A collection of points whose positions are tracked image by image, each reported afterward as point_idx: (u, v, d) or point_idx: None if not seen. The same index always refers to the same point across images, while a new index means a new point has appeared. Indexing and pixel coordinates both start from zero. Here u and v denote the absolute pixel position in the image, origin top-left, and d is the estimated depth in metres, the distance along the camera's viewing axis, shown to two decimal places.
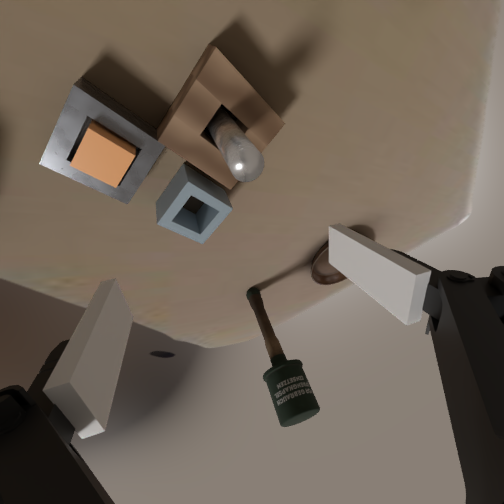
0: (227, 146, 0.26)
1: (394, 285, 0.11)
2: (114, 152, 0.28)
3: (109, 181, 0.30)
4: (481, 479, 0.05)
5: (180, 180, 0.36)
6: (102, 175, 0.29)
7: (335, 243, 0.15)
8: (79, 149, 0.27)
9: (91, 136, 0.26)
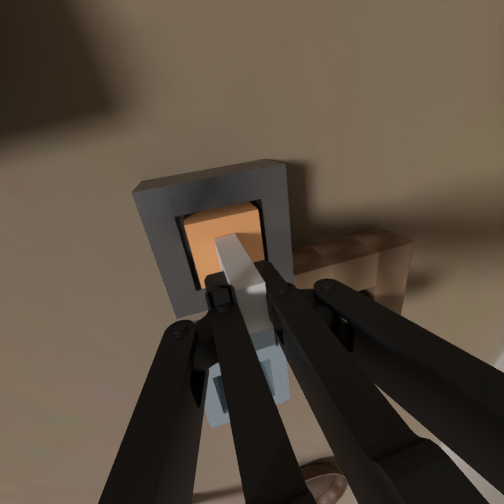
0: None
1: None
2: (251, 252, 0.18)
3: (204, 276, 0.18)
4: (369, 499, 0.05)
5: None
6: (206, 264, 0.17)
7: None
8: (220, 220, 0.16)
9: (250, 219, 0.17)
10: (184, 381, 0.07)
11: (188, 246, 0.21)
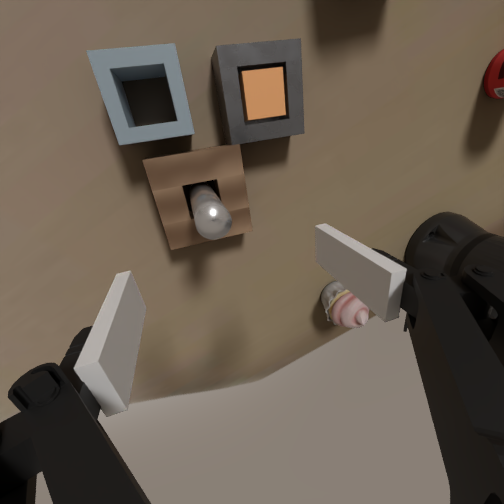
0: None
1: (373, 283, 0.12)
2: (262, 109, 0.30)
3: (250, 74, 0.28)
4: (463, 476, 0.06)
5: None
6: (258, 77, 0.29)
7: (321, 242, 0.16)
8: (283, 90, 0.30)
9: (281, 109, 0.31)
10: None
11: None
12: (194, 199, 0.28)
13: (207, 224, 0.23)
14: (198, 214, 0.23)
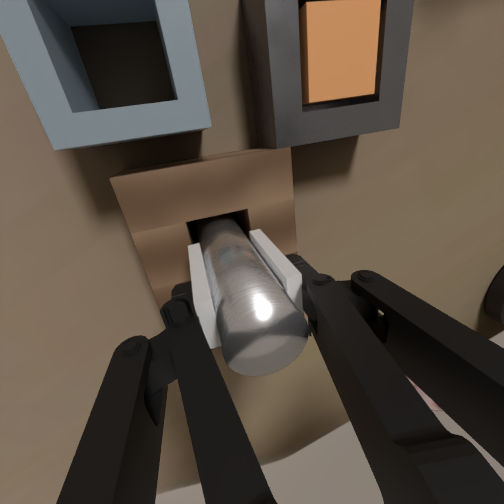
0: None
1: None
2: (335, 82, 0.16)
3: (321, 10, 0.14)
4: (392, 484, 0.06)
5: None
6: (335, 16, 0.15)
7: (254, 247, 0.16)
8: (375, 45, 0.16)
9: (367, 83, 0.17)
10: (137, 400, 0.07)
11: None
12: (211, 258, 0.14)
13: (252, 349, 0.09)
14: (232, 331, 0.09)
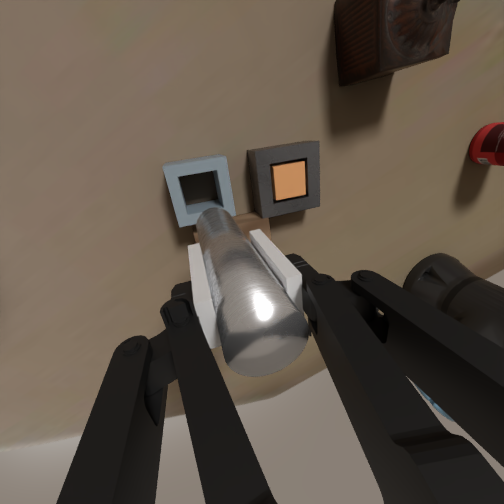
0: None
1: None
2: (287, 192, 0.38)
3: (279, 168, 0.36)
4: (392, 484, 0.06)
5: None
6: (285, 169, 0.37)
7: (254, 247, 0.16)
8: (304, 177, 0.38)
9: (302, 190, 0.39)
10: (138, 400, 0.07)
11: None
12: (211, 258, 0.14)
13: (252, 349, 0.09)
14: (232, 332, 0.09)
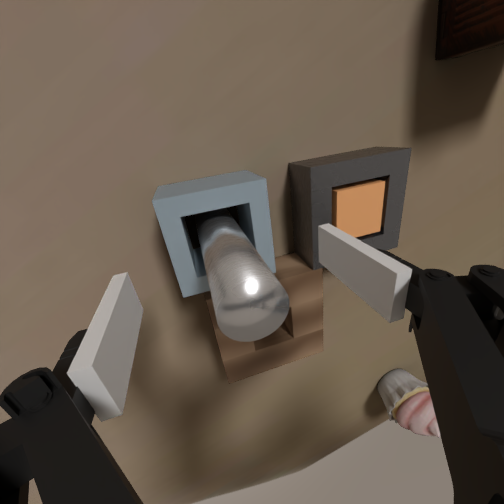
0: None
1: (378, 283, 0.11)
2: (354, 229, 0.24)
3: (346, 194, 0.22)
4: (468, 476, 0.06)
5: None
6: (355, 195, 0.22)
7: (324, 242, 0.16)
8: (381, 206, 0.24)
9: (375, 226, 0.25)
10: None
11: None
12: (208, 245, 0.16)
13: (241, 316, 0.11)
14: (223, 300, 0.11)
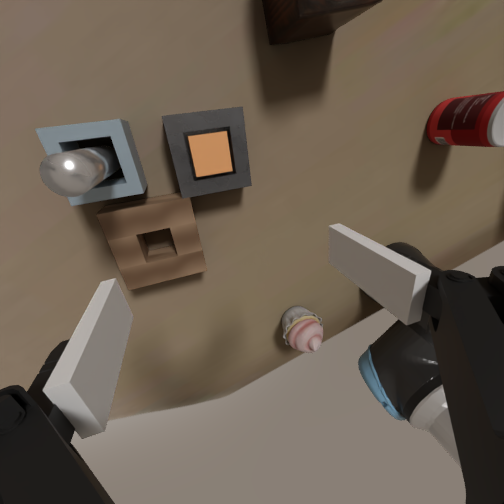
0: (96, 165, 0.23)
1: (394, 285, 0.11)
2: (209, 167, 0.33)
3: (196, 138, 0.31)
4: (480, 479, 0.05)
5: (142, 178, 0.32)
6: (203, 140, 0.31)
7: (335, 243, 0.15)
8: (228, 150, 0.33)
9: (227, 166, 0.34)
10: None
11: (198, 131, 0.34)
12: None
13: (57, 177, 0.20)
14: (42, 164, 0.19)
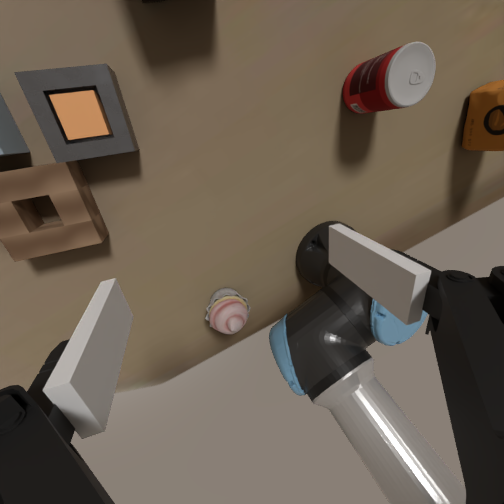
0: None
1: (394, 285, 0.11)
2: (81, 129, 0.32)
3: (59, 98, 0.30)
4: (481, 479, 0.05)
5: (10, 141, 0.31)
6: (68, 100, 0.30)
7: (335, 243, 0.15)
8: (99, 111, 0.32)
9: (102, 129, 0.32)
10: None
11: None
12: None
13: None
14: None
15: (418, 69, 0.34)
